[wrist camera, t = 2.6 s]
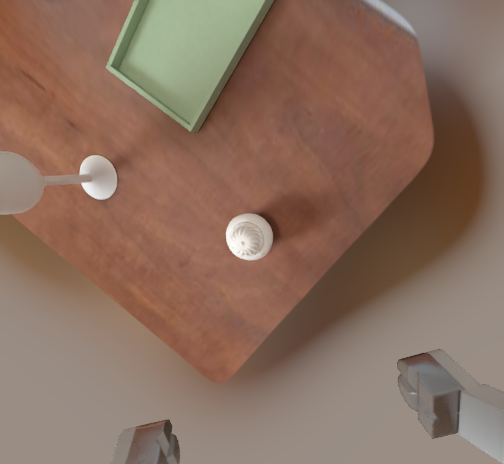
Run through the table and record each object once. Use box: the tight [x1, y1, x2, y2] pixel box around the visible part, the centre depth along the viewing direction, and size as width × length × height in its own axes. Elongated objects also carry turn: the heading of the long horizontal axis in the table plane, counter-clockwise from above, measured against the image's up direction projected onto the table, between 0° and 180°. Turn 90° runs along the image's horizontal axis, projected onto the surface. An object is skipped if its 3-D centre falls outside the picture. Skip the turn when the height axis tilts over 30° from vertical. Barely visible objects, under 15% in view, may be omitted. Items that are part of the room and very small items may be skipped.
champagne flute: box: [0, 151, 117, 215], centre depth 33 cm, size 7×7×24 cm
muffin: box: [226, 213, 273, 260], centre depth 37 cm, size 6×6×7 cm
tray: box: [106, 0, 274, 133], centre depth 36 cm, size 19×14×2 cm
